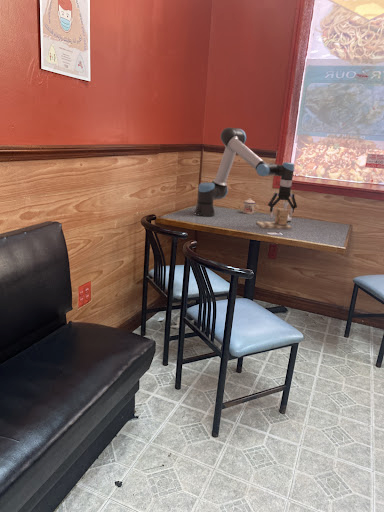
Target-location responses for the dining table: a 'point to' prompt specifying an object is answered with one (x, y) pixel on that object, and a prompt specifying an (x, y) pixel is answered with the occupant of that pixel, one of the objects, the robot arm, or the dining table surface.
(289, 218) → the flower in vase
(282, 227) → the board
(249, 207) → the teacup with lid
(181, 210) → the dining table surface
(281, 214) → the block
